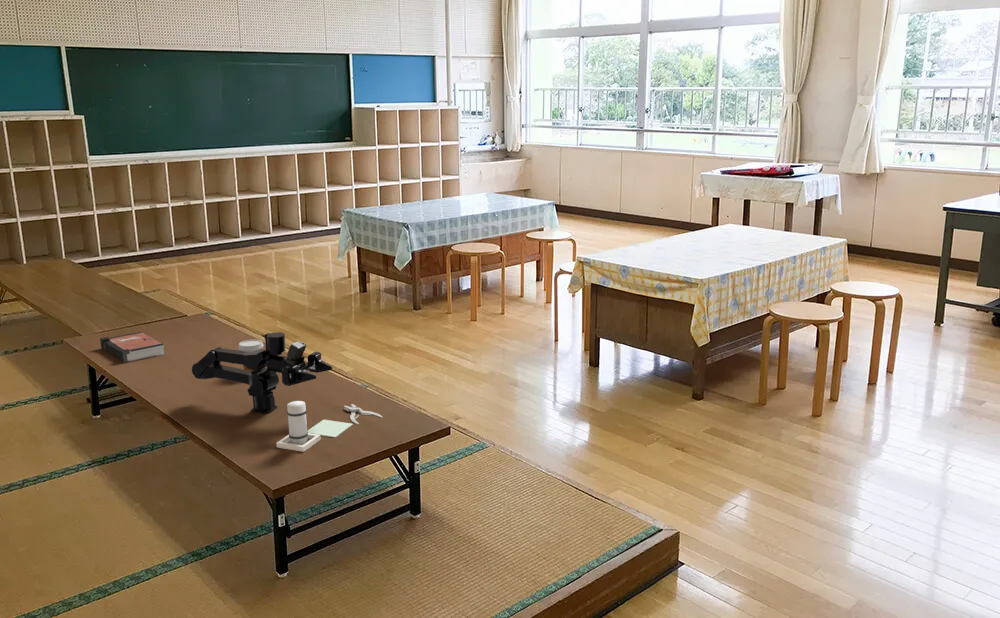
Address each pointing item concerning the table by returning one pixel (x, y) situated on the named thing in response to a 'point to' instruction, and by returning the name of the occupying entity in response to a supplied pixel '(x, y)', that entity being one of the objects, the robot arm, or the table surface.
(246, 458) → the table surface
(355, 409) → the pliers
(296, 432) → the grey-banded white cylinder
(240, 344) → the disposable coffee cup
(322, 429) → the mat
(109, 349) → the book
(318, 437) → the white square frame
